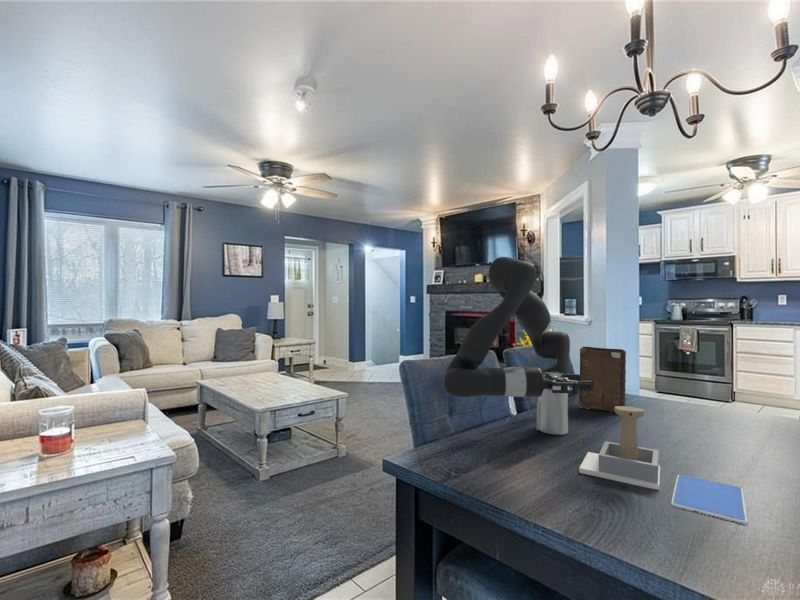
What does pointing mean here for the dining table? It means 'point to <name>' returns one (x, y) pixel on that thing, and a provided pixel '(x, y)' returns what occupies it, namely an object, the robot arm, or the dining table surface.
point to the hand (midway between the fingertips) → (585, 381)
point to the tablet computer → (710, 498)
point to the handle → (629, 431)
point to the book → (603, 378)
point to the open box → (624, 466)
